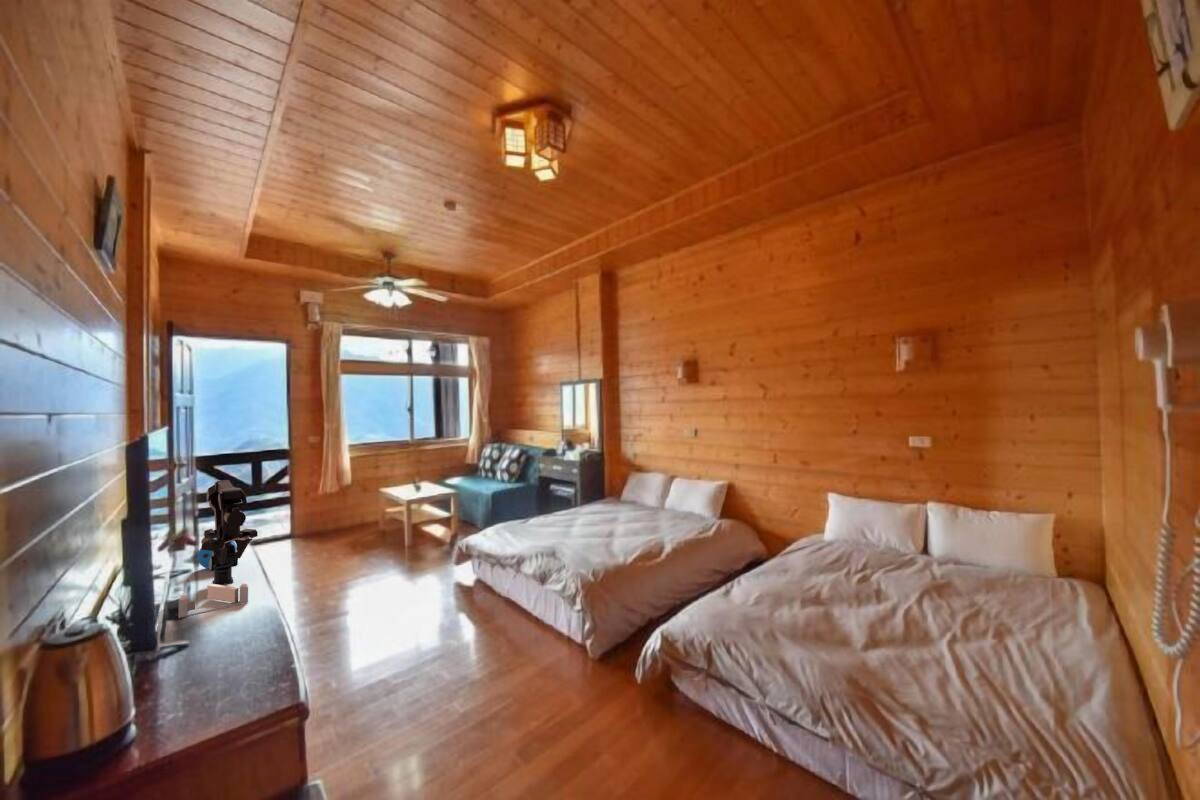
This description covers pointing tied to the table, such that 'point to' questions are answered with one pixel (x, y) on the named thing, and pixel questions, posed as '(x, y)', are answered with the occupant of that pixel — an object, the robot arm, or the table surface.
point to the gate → (223, 593)
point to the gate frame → (188, 606)
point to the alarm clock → (207, 554)
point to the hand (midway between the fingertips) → (230, 561)
